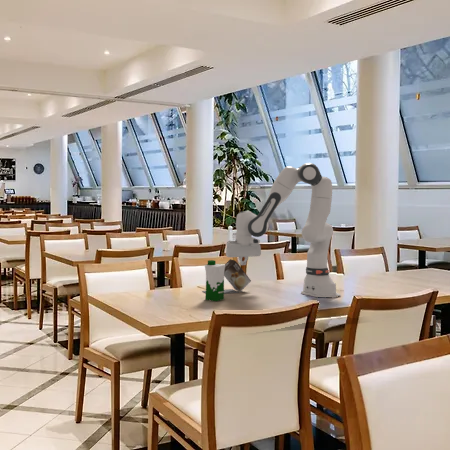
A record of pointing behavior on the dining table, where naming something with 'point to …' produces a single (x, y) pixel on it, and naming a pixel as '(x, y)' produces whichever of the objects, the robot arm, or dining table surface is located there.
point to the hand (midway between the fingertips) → (243, 264)
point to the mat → (227, 291)
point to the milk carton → (214, 281)
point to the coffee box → (236, 275)
